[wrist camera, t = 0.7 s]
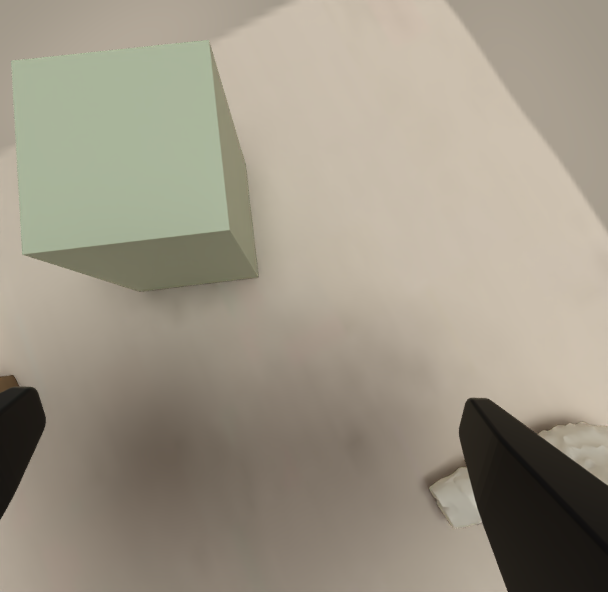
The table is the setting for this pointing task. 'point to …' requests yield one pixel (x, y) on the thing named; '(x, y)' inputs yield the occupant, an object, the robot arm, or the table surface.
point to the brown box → (7, 383)
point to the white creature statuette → (568, 439)
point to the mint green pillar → (132, 167)
